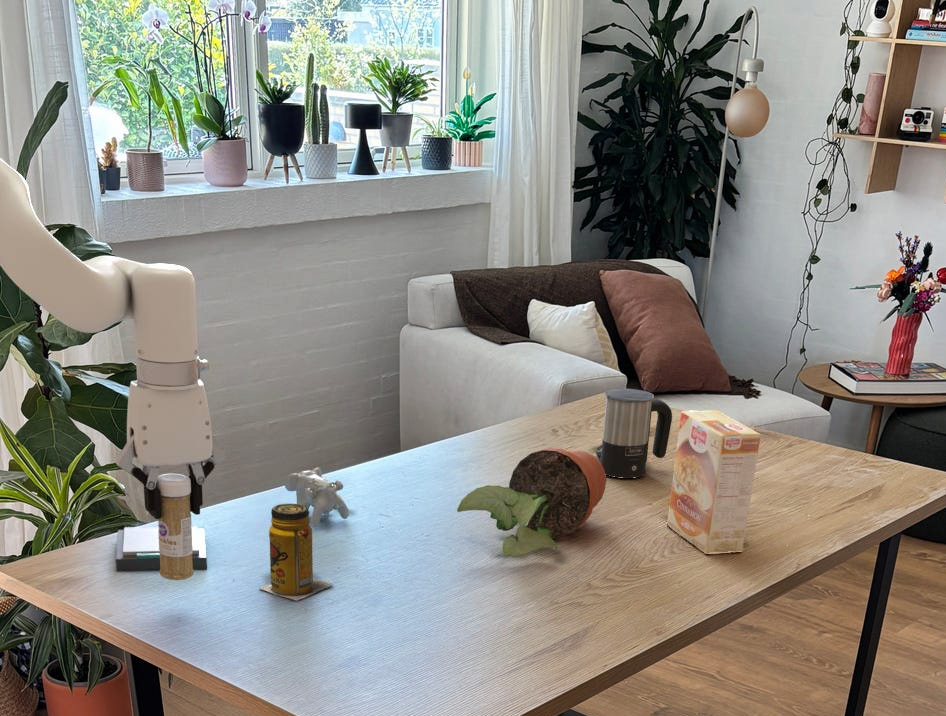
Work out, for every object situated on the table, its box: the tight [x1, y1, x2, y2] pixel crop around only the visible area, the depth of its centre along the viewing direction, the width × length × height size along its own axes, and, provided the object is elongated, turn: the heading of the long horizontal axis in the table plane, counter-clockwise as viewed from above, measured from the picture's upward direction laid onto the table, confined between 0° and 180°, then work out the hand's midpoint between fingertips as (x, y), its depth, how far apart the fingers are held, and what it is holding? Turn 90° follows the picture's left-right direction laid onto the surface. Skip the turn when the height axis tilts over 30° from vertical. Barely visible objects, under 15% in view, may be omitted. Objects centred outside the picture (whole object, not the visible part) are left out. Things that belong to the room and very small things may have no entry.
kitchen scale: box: [115, 525, 208, 572], centre depth 196 cm, size 13×13×2 cm
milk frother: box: [595, 388, 673, 478], centre depth 248 cm, size 14×16×15 cm
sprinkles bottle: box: [156, 473, 195, 581], centre depth 172 cm, size 5×5×14 cm
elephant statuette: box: [284, 466, 350, 528], centre depth 213 cm, size 9×12×8 cm
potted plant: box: [456, 447, 607, 558], centre depth 206 cm, size 16×15×35 cm
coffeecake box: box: [666, 409, 762, 553], centre depth 212 cm, size 15×7×20 cm, turn 18°
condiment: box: [258, 503, 335, 602], centre depth 185 cm, size 7×8×12 cm
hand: (174, 512), depth 171 cm, fingers closed on sprinkles bottle, 4 cm apart
